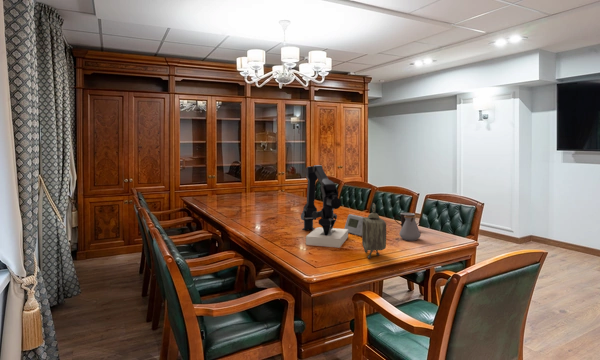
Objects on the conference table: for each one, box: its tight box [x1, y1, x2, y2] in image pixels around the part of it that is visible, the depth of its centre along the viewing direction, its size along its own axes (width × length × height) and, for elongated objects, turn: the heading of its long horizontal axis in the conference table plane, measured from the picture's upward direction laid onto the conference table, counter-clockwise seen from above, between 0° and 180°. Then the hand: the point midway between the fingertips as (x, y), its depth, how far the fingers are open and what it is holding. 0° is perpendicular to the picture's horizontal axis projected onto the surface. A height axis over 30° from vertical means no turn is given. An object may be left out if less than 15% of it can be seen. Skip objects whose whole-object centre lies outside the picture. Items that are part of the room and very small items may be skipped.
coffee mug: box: [393, 212, 416, 228], centre depth 234 cm, size 12×9×10 cm
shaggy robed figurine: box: [361, 202, 387, 260], centre depth 176 cm, size 14×9×25 cm, turn 178°
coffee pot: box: [399, 215, 422, 242], centre depth 204 cm, size 21×12×15 cm, turn 167°
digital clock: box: [343, 213, 364, 237], centre depth 222 cm, size 16×9×11 cm, turn 21°
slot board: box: [305, 226, 349, 249], centre depth 205 cm, size 24×18×4 cm
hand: (327, 234), depth 205 cm, fingers open, 8 cm apart
